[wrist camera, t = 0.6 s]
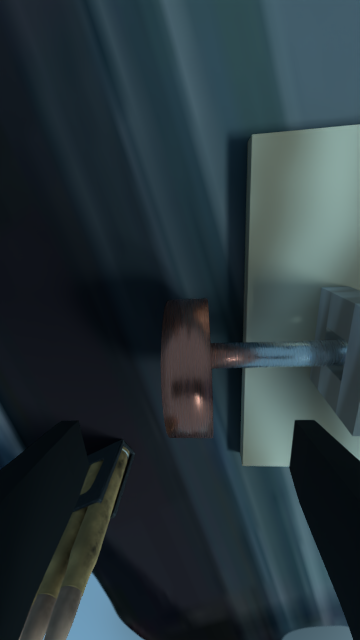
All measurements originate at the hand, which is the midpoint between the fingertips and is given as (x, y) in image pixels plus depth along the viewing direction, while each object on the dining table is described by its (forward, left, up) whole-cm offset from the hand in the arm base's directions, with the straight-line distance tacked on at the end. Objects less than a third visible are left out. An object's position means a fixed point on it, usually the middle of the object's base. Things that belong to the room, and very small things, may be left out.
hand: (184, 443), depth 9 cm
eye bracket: (-9, 0, -10) cm, 13 cm away
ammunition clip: (+10, +13, -10) cm, 19 cm away
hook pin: (-5, 0, -9) cm, 10 cm away
